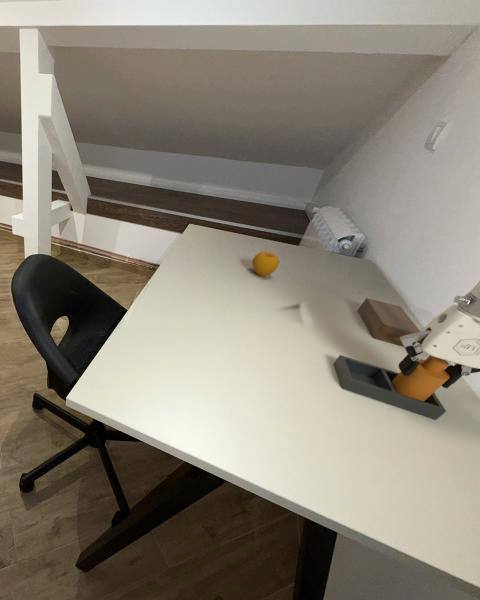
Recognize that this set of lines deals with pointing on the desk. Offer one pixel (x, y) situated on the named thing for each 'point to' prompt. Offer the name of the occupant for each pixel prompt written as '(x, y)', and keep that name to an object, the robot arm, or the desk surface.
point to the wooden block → (386, 321)
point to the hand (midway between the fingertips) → (422, 376)
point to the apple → (265, 263)
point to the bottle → (422, 379)
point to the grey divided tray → (382, 387)
